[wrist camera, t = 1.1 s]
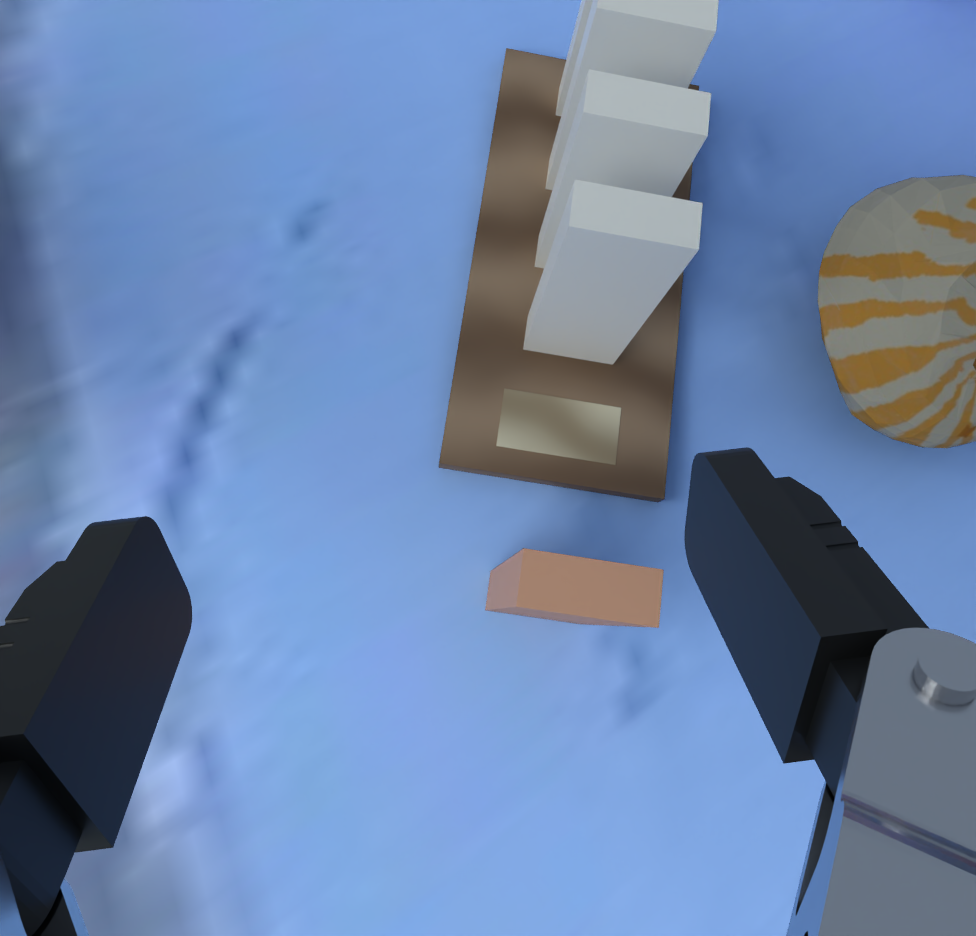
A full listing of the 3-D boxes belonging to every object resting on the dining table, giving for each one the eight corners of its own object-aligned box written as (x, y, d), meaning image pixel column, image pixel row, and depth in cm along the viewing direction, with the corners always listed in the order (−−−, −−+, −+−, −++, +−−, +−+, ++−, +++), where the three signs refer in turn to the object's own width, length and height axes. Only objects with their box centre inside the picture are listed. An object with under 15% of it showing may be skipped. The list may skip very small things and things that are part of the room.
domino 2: (621, 282, 38) (707, 135, 27) (534, 266, 38) (583, 111, 26) (624, 250, 39) (711, 93, 27) (538, 234, 39) (588, 69, 27)
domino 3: (612, 364, 37) (699, 249, 26) (523, 349, 37) (568, 226, 25) (616, 331, 38) (702, 203, 26) (527, 315, 37) (574, 179, 26)
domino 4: (580, 624, 35) (658, 627, 23) (485, 610, 35) (516, 606, 23) (584, 585, 36) (663, 569, 24) (490, 571, 35) (523, 548, 24)
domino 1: (629, 204, 40) (716, 31, 28) (545, 189, 39) (596, 7, 28) (633, 174, 40) (719, -8, 28) (549, 159, 40) (601, -32, 28)
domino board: (657, 502, 37) (664, 498, 36) (438, 467, 36) (439, 463, 35) (692, 98, 43) (699, 85, 42) (504, 61, 42) (506, 47, 41)
